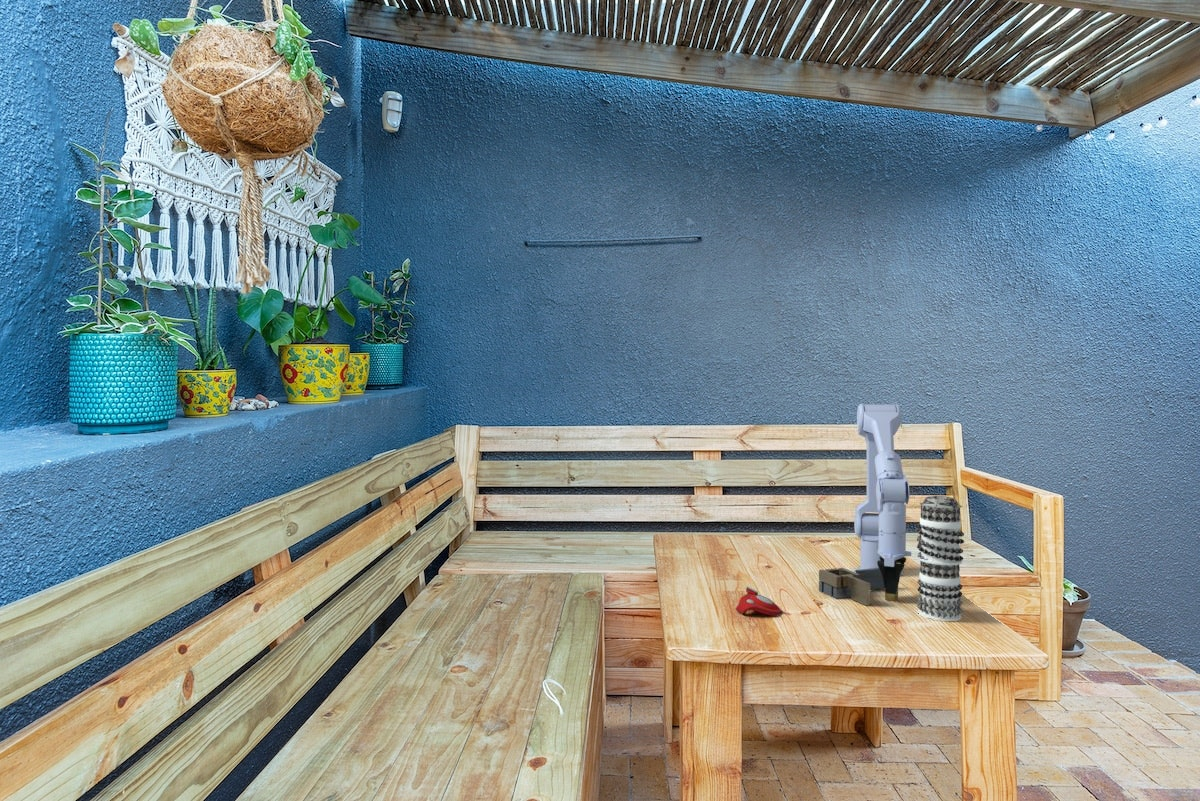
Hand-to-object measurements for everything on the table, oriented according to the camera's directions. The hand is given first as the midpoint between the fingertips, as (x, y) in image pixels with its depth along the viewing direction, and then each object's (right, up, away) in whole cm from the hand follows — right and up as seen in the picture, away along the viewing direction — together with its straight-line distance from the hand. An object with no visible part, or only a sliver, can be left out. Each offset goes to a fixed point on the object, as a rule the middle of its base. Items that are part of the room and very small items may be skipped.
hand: (891, 591), depth 163 cm
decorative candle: (+6, -3, -11) cm, 12 cm away
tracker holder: (-32, -3, -6) cm, 32 cm away
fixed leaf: (-6, -2, +7) cm, 9 cm away
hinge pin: (0, -2, 0) cm, 2 cm away
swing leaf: (-9, -2, +2) cm, 9 cm away
